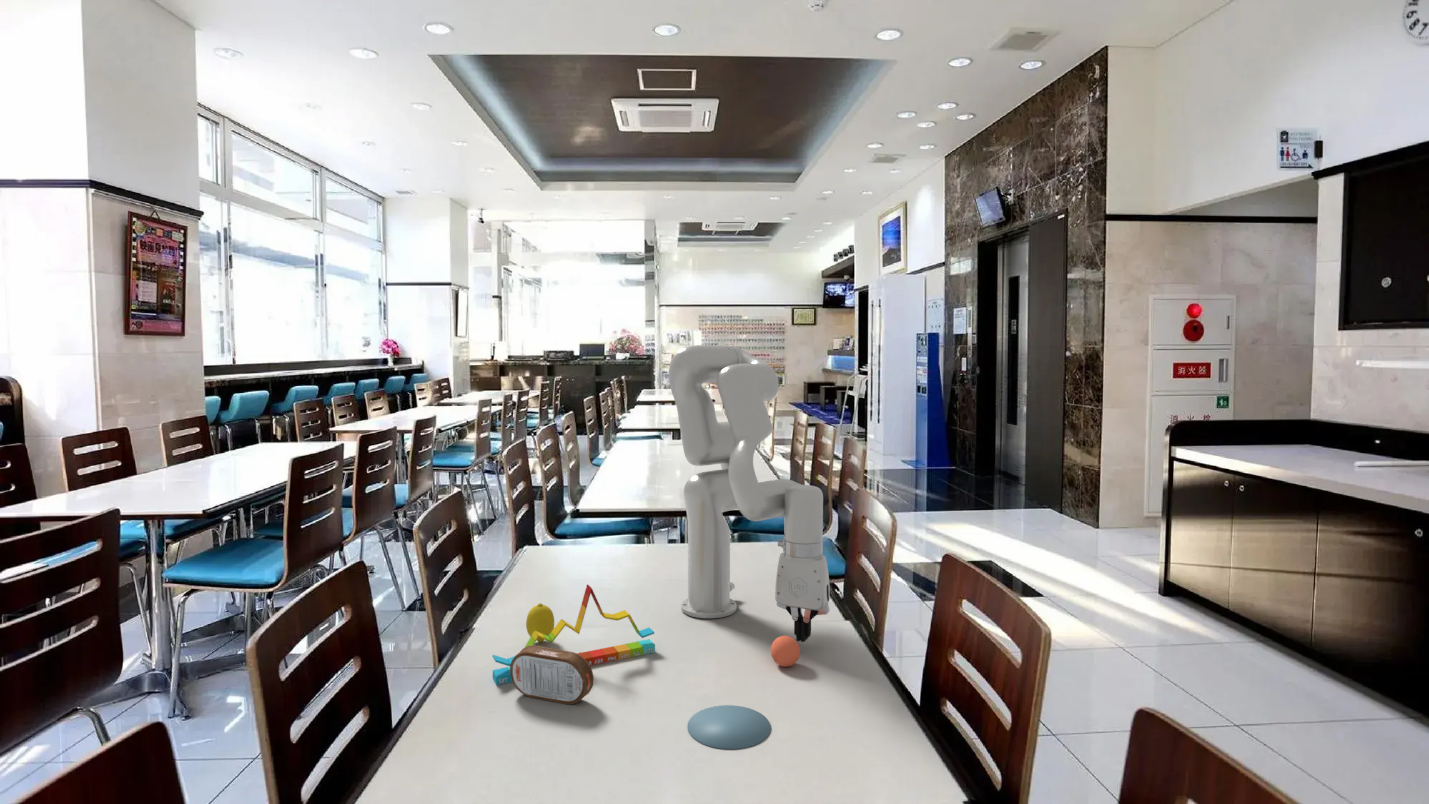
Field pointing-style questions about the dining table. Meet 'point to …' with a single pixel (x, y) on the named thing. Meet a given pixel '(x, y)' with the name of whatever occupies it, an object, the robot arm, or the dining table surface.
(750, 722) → the disc
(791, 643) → the ball
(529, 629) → the lemon
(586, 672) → the tin
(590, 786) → the dining table surface
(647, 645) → the chart
